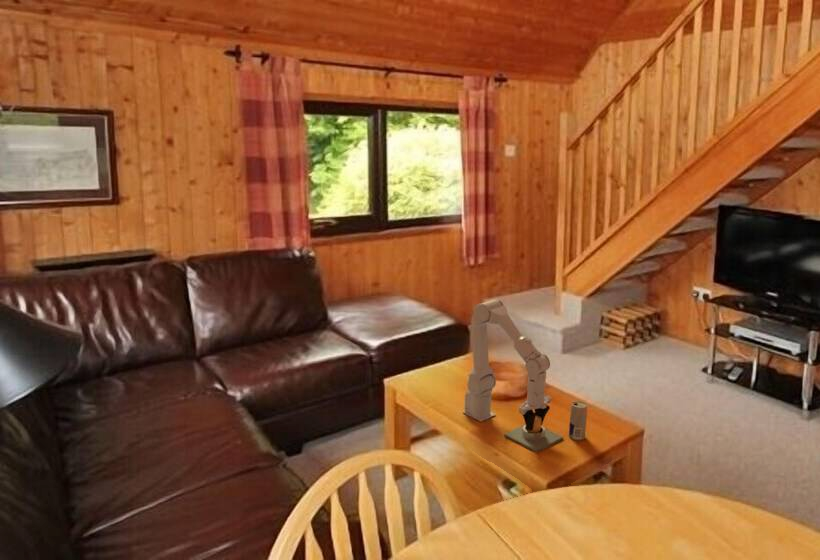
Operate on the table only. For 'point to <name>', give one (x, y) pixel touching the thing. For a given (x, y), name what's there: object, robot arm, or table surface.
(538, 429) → the orange rounded capsule
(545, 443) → the gray board
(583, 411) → the energy drink
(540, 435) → the segmented brown ring
